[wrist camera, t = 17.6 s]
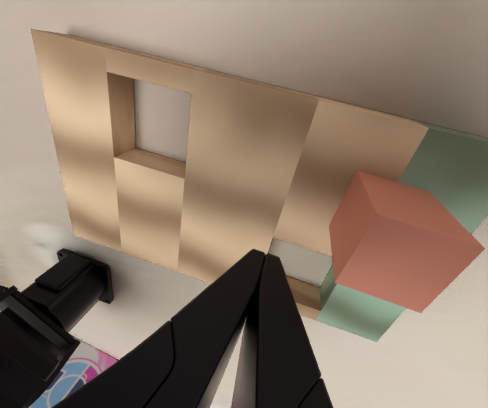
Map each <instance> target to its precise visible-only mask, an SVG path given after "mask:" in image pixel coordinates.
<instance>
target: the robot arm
mask: <svg viewBox="0 0 488 408" xmlns="http://www.w3.org/2000/svg"><path fill="white" fill-rule="evenodd" d="M57 255H58V259H59V262H58V263H57V264H55V265H54V266H53V267H51V268H50V269H49V270H47V271H46V272H45V273H43V274H42V275H40V276H39V277H38V278H36V279H35V282H34V283H33V284H31V285H30V286H29V287H27V288H26V289H25V290H23V291H22V292H21V293H20V292H19V291H18V290H17V288H16V287H15V286H14V285H13V286H12V287H10V288H8V287H4V286H0V310H1V312H0V408H29V407H30V406H31V405H32V404H33V403H34V402H35V401H36V400H37V399H38V398H39V397H40V396H41V395H42V394H43V393H44V392H45V390H46V389H47V388H48V387H49V386H50V384H51V383H52V382H53V381H54V379H55V378H56V376H57V375H58V374H59V372H60V371H61V369H62V368H63V367H64V365H65V364H66V362H67V361H68V360H69V358H70V357H71V356H72V354H73V353H74V351H75V350H76V349H77V347H78V346H79V344H80V343H81V342H80V341H79V340H78V339H75V338H74V337H73V336H71V335H70V334H69V333H68V332H69V331H70V330H71V329H72V328H73V327H74V326H75V325H76V324H77V323H78V322H79V321H80V320H81V319H82V317H83V316H84V315H85V314H86V313H87V312H88V311H89V310H90V309H91V308H92V307H93V306H94V305H95V304H96V303H97V302H98V300H100V301H103V302H105V303H108V304H110V303H111V302H112V301H113V294H112V286H111V278H110V270H109V267H108V266H107V265H105V264H102V263H99V262H96V261H94V260H91V259H88V258H85V257H82V256H80V255H77V254H74V253H71V252H69V251H66V250H63V249H61V250H59V251H58V252H57ZM246 317H247V318H246ZM245 320H246V322H245ZM244 323H245V326H244ZM243 326H244V331H243V336H242V343H241V349H240V355H239V361H238V368H237V374H236V380H235V386H234V393H233V399H232V405H231V408H333V405H332V403H331V400H330V397H329V395H328V392H327V389H326V386H325V383H324V380H323V379H322V378H320V377H321V372H320V370H319V367H318V364H317V361H316V358H315V356H314V353H313V350H312V347H311V344H310V342H309V339H308V336H307V333H306V330H305V328H304V325H303V322H302V319H301V316H300V314H299V311H298V308H297V305H296V302H295V300H294V297H293V294H292V291H291V288H290V286H289V283H288V280H287V277H286V274H285V272H284V269H283V266H282V263H281V260H280V258H279V257H278V256H275V255H272V254H268V253H267V254H266V255H265V253H264V252H262V251H259V250H256V249H252V250H250V251H249V252H248V253H247V254H246V255H244V256H243V257H242V258H241V259H240V260H239V261H237V262H236V263H235V264H234V265H233V266H232V267H230V268H229V269H228V270H227V271H226V272H225V273H223V274H222V275H221V276H220V277H219V278H218V279H216V280H215V281H214V282H213V283H212V284H211V285H209V286H208V287H207V288H206V289H205V290H204V291H202V292H201V293H200V294H199V295H198V296H197V297H195V298H194V299H193V300H192V301H191V302H190V303H188V304H187V305H186V306H185V307H184V308H183V309H181V310H180V311H179V312H178V313H177V314H176V315H174V316H173V317H172V318H171V321H167V322H166V323H165V324H164V325H163V326H161V327H160V328H159V329H158V330H157V331H156V332H154V333H153V334H152V335H151V336H149V337H148V338H147V339H146V340H144V341H143V342H142V343H141V344H139V345H138V346H137V347H136V348H135V349H133V350H132V351H131V352H129V353H128V354H126V355H125V356H124V357H122V358H121V359H120V360H118V361H117V362H115V363H114V364H113V365H111V366H110V367H109V368H107V369H106V370H104V371H103V372H101V373H100V374H99V375H97V376H96V377H94V378H93V379H91V380H90V381H89V382H87V383H86V384H84V385H83V386H81V387H80V388H78V389H77V390H76V391H74V392H73V393H71V394H70V395H68V396H67V397H65V398H64V399H63V400H61V401H60V402H58V403H57V404H55V405H54V406H52V407H51V408H209V407H210V405H211V403H212V400H213V398H214V395H215V393H216V391H217V388H218V386H219V384H220V381H221V379H222V376H223V374H224V372H225V369H226V367H227V365H228V362H229V360H230V358H231V355H232V353H233V350H234V348H235V346H236V343H237V341H238V339H239V336H240V334H241V331H242V329H243Z"/></svg>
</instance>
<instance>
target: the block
mask: <svg viewBox="0 0 488 408" xmlns="http://www.w3.org/2000/svg"><path fill="white" fill-rule="evenodd" d="M329 233H330V242H331V252H332V262H333V271H334V281H335V283H337V284H340V285H342V286H345V287H348V288H351V289H354V290H357V291H360V292H362V293H365V294H368V295H371V296H374V297H377V298H380V299H382V300H385V301H388V302H391V303H394V304H397V305H399V306H402V307H405V308H408V309H411V310H414V311H417V312H419V313H421V312H422V311H423V310H424V309H425V308H426V307H427V306H428V305H429V304H430V303H431V302H432V301H433V300H434V299H435V298H436V297H437V296H438V295H439V294H440V293H441V292H442V291H443V290H444V289H445V288H446V287H447V286H448V285H449V284H450V283H451V282H452V281H453V280H454V279H455V278H456V277H457V276H458V275H459V274H460V273H461V272H462V271H463V270H464V269H465V268H466V267H467V266H468V265H469V264H470V263H471V262H472V261H473V260H474V259H475V258H476V257H477V256H478V255H479V254H480V253H481V252H482V251H483V250H484V249H485V248H484V247H483V246H482V245H481V244H480V243H479V242H478V241H477V240H476V239H475V238H474V237H473V236H472V235H471V234H470V233H469V232H468V231H467V230H466V229H465V228H464V227H463V226H462V225H461V224H460V223H459V221H458V220H457V219H456V218H455V217H454V216H453V215H452V214H451V213H450V212H449V211H448V210H447V209H446V208H445V207H444V206H443V205H442V204H441V203H440V202H439V201H438V200H437V199H436V198H435V197H434V196H433V195H432V194H431V193H430V192H428V191H425V190H422V189H418V188H415V187H412V186H408V185H405V184H402V183H398V182H395V181H392V180H388V179H385V178H382V177H378V176H375V175H372V174H368V173H365V172H362V171H359V170H357V171H356V173H355V175H354V177H353V179H352V181H351V183H350V185H349V187H348V189H347V191H346V193H345V195H344V197H343V199H342V201H341V203H340V205H339V207H338V209H337V211H336V213H335V214H334V216H333V218H332V220H331V222H330V224H329Z"/></svg>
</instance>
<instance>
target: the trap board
mask: <svg viewBox="0 0 488 408" xmlns="http://www.w3.org/2000/svg"><path fill="white" fill-rule="evenodd" d="M31 33H32V38H33V43H34V47H35V52H36V57H37V62H38V66H39V71H40V76H41V81H42V85H43V90H44V95H45V100H46V105H47V109H48V114H49V119H50V124H51V128H52V133H53V138H54V143H55V147H56V152H57V157H58V162H59V166H60V171H61V176H62V181H63V185H64V190H65V195H66V200H67V204H68V209H69V214H70V219H71V223H72V228H73V233H74V235H75V236H78V237H80V238H83V239H86V240H89V241H92V242H95V243H97V244H100V245H103V246H106V247H109V248H112V249H114V250H117V251H120V252H123V253H126V254H129V255H131V256H134V257H137V258H140V259H143V260H146V261H148V262H151V263H154V264H157V265H160V266H163V267H166V268H168V269H171V270H174V271H177V272H180V273H183V274H185V275H188V276H191V277H194V278H197V279H200V280H202V281H205V282H208V283H211V284H212V283H213V282H214V281H215V280H216V279H218V278H219V277H220V276H221V275H222V274H223V273H225V272H226V271H227V270H228V269H229V268H230V267H232V266H233V265H234V264H235V263H236V262H237V261H239V260H240V259H241V258H242V257H243V256H244V255H246V254H247V253H248V252H249V251H250V250H252V249H256V250H259V251H262V252H264V253H265V255H266V254H267V253H268V250H269V247H270V244H271V241H272V238H275V239H278V240H282V241H285V242H288V243H291V244H294V245H297V246H300V247H303V248H307V249H310V250H313V251H316V252H319V253H322V254H325V255H328V256H332V252H331V242H330V233H329V224H330V222H331V220H332V218H333V216H334V214H335V213H336V211H337V209H338V207H339V205H340V203H341V201H342V199H343V197H344V195H345V193H346V191H347V189H348V187H349V185H350V183H351V181H352V179H353V177H354V175H355V173H356V171H357V170H359V171H362V172H365V173H368V174H372V175H375V176H378V177H382V178H385V179H388V180H392V181H395V182H398V183H402V184H405V185H408V186H412V187H415V188H418V189H422V190H425V191H428V192H430V193H431V194H432V195H433V196H434V197H435V198H436V199H437V200H438V201H439V202H440V203H441V204H442V205H443V206H444V207H445V208H446V209H447V210H448V211H449V212H450V213H451V214H452V215H453V216H454V217H455V218H456V219H457V220H458V221H459V223H460V224H461V225H462V226H463V227H464V228H465V229H466V230H467V231H468V232H469V233H470V234H472V232H473V231H474V230H475V229H476V228H477V227H478V226H479V224H480V223H481V222H482V221H483V220H484V219H485V218H486V217H487V215H488V138H484V137H480V136H476V135H472V134H468V133H464V132H460V131H456V130H452V129H448V128H444V127H440V126H436V125H432V124H427V123H423V122H419V121H415V120H411V119H407V118H403V117H399V116H395V115H391V114H387V113H383V112H379V111H375V110H371V109H367V108H363V107H359V106H355V105H350V104H346V103H342V102H338V101H334V100H330V99H326V98H322V97H318V96H314V95H310V94H306V93H302V92H298V91H294V90H290V89H286V88H282V87H278V86H274V85H269V84H265V83H261V82H257V81H253V80H249V79H245V78H241V77H237V76H233V75H229V74H225V73H221V72H217V71H213V70H209V69H205V68H201V67H197V66H192V65H188V64H184V63H180V62H176V61H172V60H168V59H164V58H160V57H156V56H152V55H148V54H144V53H140V52H136V51H132V50H128V49H124V48H120V47H115V46H111V45H107V44H103V43H99V42H95V41H91V40H87V39H83V38H79V37H75V36H71V35H67V34H60V33H54V32H47V31H41V30H34V29H31ZM133 79H137V80H141V81H144V82H148V83H152V84H156V85H160V86H164V87H167V88H171V89H175V90H179V91H183V92H187V93H190V94H191V106H190V118H189V130H188V143H187V155H186V163H185V162H181V161H178V160H174V159H171V158H168V157H164V156H161V155H158V154H154V153H151V152H147V151H144V150H141V149H137V148H136V144H135V114H134V84H133ZM286 277H287V276H286ZM287 280H288V283H289V286H290V288H291V291H292V294H293V297H294V300H295V302H296V305H297V308H298V311H299V314H300V315H302V316H305V317H307V318H310V319H313V320H316V321H319V322H322V323H324V324H327V325H330V326H333V327H336V328H339V329H341V330H344V331H347V332H350V333H353V334H356V335H358V336H361V337H364V338H367V339H370V340H373V341H375V342H377V341H378V340H379V339H380V337H381V336H382V335H383V334H384V333H385V332H386V331H387V329H388V328H389V327H390V326H391V325H392V324H393V323H394V321H395V320H396V319H397V318H398V317H399V316H400V315H401V313H402V312H403V311H404V310H405V309H406V308H405V307H402V306H399V305H397V304H394V303H391V302H388V301H385V300H382V299H380V298H377V297H374V296H371V295H368V294H365V293H362V292H360V291H357V290H354V289H351V288H348V287H345V286H342V285H340V284H337V283H335V281H334V271H333V265H332V267H331V269H330V271H329V272H328V274H327V276H326V278H325V280H324V282H323V283H322V285H321V287H317V286H314V285H311V284H308V283H305V282H302V281H299V280H296V279H293V278H290V277H287Z"/></svg>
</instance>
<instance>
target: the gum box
mask: <svg viewBox="0 0 488 408" xmlns="http://www.w3.org/2000/svg"><path fill="white" fill-rule="evenodd" d="M74 338H75V337H74ZM75 339H77V338H75ZM78 340H79V339H78ZM79 341H80V342H81V343H80V344H79V346H78V347H77V349H76V350H75V351H74V353H73V354H72V356H71V357H70V358H69V360H68V361H67V362H66V364H65V365H64V367H63V368H62V369H61V371H60V372H59V374H58V375H57V376H56V378H55V379H54V381H53V382H52V383H51V384H50V386H49V387H48V388H47V389H46V390H45V392H44V393H43V394H42V395H41V396H40V397H39V398H38V399H37V400H36V401H35V402H34V403H33V404H32V405H31V406H30V407H29V408H51V407H52V406H54V405H55V404H57V403H58V402H60V401H61V400H63V399H64V398H65V397H67V396H68V395H70V394H71V393H73V392H74V391H76V390H77V389H78V388H80V387H81V386H83V385H84V384H86V383H87V382H89V381H90V380H91V379H93V378H94V377H96V376H97V375H99V374H100V373H101V372H103V371H104V370H106V369H107V368H109V367H110V366H111V365H113V364H114V363H115V362H117V361H118V360H116V359H115V358H113V357H111V356H109V355H107V354H105V353H103V352H101V351H100V350H98V349H96V348H94V347H92V346H91V345H89V344H87V343H85V342H83V341H81V340H79Z"/></svg>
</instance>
